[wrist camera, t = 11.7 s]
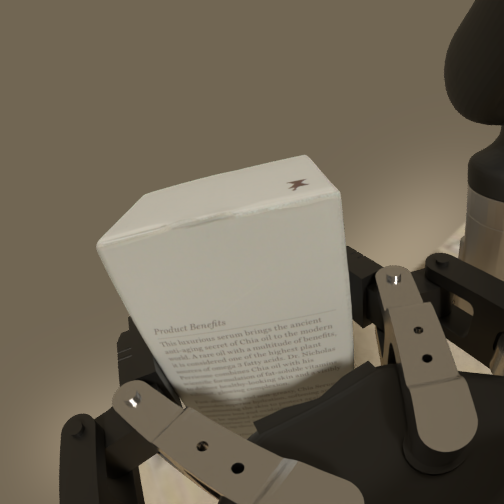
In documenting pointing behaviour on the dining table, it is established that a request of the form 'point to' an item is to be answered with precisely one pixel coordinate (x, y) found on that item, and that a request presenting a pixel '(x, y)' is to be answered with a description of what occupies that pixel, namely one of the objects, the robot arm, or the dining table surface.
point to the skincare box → (239, 288)
